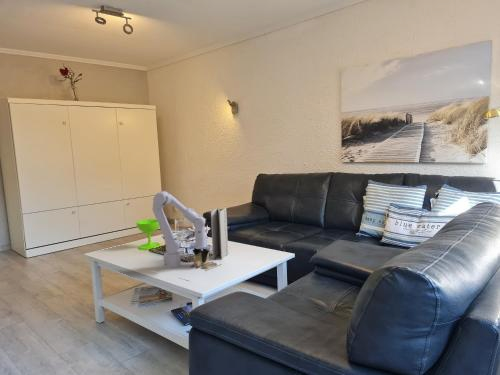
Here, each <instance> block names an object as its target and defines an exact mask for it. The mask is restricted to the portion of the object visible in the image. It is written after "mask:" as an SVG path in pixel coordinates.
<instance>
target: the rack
mask: <svg viewBox="0 0 500 375" xmlns="http://www.w3.org/2000/svg"><path fill="white" fill-rule="evenodd" d="M211 262H212V261H209V263H211ZM209 263H207V264H209ZM204 265H206V264H204ZM204 265H202V266H204ZM202 266H199V267H195V269H196V270H197V269H200V268H202ZM219 266H222V264H217V265H216V266H214V267H211V268H209V269H206V270H204V271H205V272H207V271H209V270H212V269H215V268H217V267H219ZM193 267H194V264H193V265H191V266H190V268H193Z"/></svg>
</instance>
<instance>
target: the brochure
mask: <svg viewBox="0 0 500 375" xmlns="http://www.w3.org/2000/svg"><path fill="white" fill-rule="evenodd" d="M210 221H211V224H210V225H211V243H212V246H211V247H212V260H214V259H215V258H216V257H217V256H220V259H221V260H223V259H224V258H225V257H228V255H229V242H228V241H229V240H228V217H227V207H225V208H223V209H221V210H220V209H219V207H216V208H215V209H212V210H211V211H210Z"/></svg>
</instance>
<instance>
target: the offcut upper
mask: <svg viewBox="0 0 500 375" xmlns="http://www.w3.org/2000/svg"><path fill="white" fill-rule="evenodd" d="M210 262H211V263H210ZM210 262H209V264H206V265H204V266H202V267H201V268H205V269H206V270H208V269H209V270H210V268H213V266H214V267H215V265H216V266H218V264H217V262H213V261H210Z"/></svg>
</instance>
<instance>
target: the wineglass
mask: <svg viewBox="0 0 500 375" xmlns="http://www.w3.org/2000/svg"><path fill="white" fill-rule="evenodd" d="M136 227H137V228H138V230H139V231H140V232H142V233H144V234H147V240H148V241H147V242H146V243H143V244H140V245H139V246H138V247H137V248H138V250H141V251H150V250H149V249H151V248H156V247H159V246H163V245H162V244H161V243H159V242H152V236H151V235H152V233H155V232H156V231H157V230H158V228H160V226H159V224H158V222H157V219H156V218H155V219H154V218H153V219H152V218H151V219H143V220H138V221H136Z"/></svg>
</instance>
